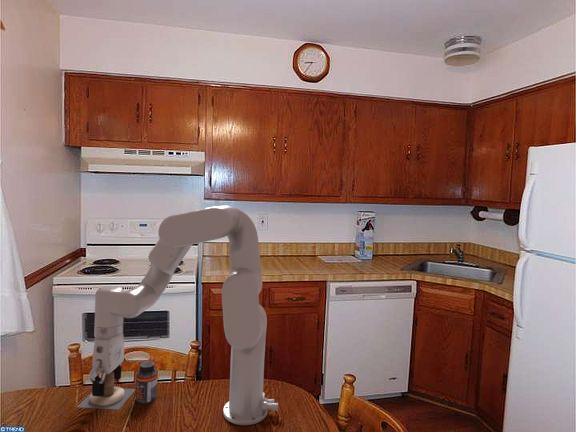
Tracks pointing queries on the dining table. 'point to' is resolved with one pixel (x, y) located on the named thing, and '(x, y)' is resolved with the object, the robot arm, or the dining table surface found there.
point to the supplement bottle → (146, 383)
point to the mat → (116, 406)
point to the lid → (108, 393)
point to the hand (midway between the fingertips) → (107, 386)
